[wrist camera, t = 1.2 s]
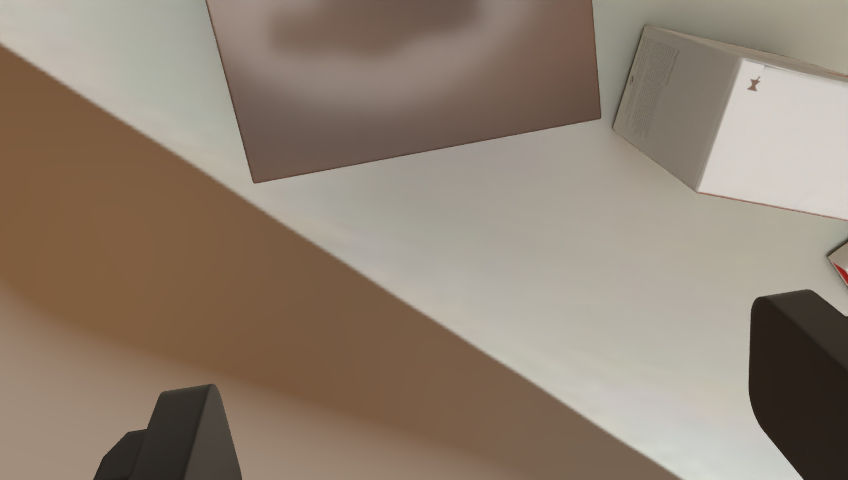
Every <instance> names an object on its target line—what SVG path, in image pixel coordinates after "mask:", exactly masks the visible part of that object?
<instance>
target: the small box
mask: <svg viewBox="0 0 848 480" xmlns="http://www.w3.org/2000/svg"><path fill="white" fill-rule="evenodd" d="M613 130H614V131H615V132H616V133H617V134H619V135H620V136H621V137H623V138H624V139H625V140H627V141H628V142H629V143H631V144H632V145H633V146H635V147H636V148H637V149H639V150H640V151H642V152H643V153H644V154H645V155H647V156H648V157H649V158H651V159H652V160H653V161H655V162H656V163H658V164H659V165H660V166H662V167H663V168H664V169H666V170H667V171H668V172H670V173H671V174H672V175H674V176H675V177H676V178H678V179H679V180H681V181H682V182H683V183H684V184H686V185H687V186H688V187H690V188H691V189H692V190H694V191H695V192H696V193H701V194H706V195H712V196H717V197H722V198H728V199H733V200H739V201H744V202H749V203H755V204H760V205H765V206H771V207H776V208H781V209H787V210H792V211H797V212H803V213H808V214H813V215H818V216H824V217H829V218H834V219H840V220H845V221H848V75H845V74H842V73H839V72H835V71H832V70H829V69H825V68H822V67H819V66H816V65H813V64H809V63H806V62H803V61H800V60H796V59H793V58H790V57H786V56H782V55H777V54H772V53H768V52H763V51H759V50H755V49H750V48H746V47H741V46H737V45H732V44H728V43H723V42H719V41H714V40H710V39H706V38H702V37H697V36H693V35H689V34H684V33H680V32H675V31H671V30H666V29H662V28H658V27H653V26H649V25H646V26H645V27H644V30H643V34H642V37H641V40H640V43H639V46H638V50H637V53H636V56H635V59H634V62H633V65H632V69H631V72H630V75H629V78H628V81H627V85H626V88H625V91H624V94H623V97H622V101H621V104H620V107H619V110H618V113H617V117H616V120H615V123H614V126H613Z"/></svg>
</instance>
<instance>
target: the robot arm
mask: <svg viewBox="0 0 848 480" xmlns="http://www.w3.org/2000/svg"><path fill="white" fill-rule="evenodd" d="M749 396H750V402H751V406H752V409H753V412H754V415H755V417H756V419H757V421H758V423H759V425H760V427H761V428H762V429H763V431H764V432H765V433H766V434H767V435H768V437H769V438H770V439H771V440H772V442H773V443H774V444H775V445H776V446H777V448H778V449H779V450H780V451H781V453H782V454H783V455H784V456H785V457H786V459H787V460H788V461H789V462H790V464H791V465H792V466H793V467H794V468H795V470H796V471H797V472H798V473H799V475H800V476H801V477H802V478H803V479H804V480H848V316H847V317H845V316H844V315H843V314H842V313H840V312H839V311H838V310H837V309H835V308H834V307H833V306H832V305H830V304H829V303H828V302H827V301H825V300H824V299H823V298H822V297H820V296H819V295H818V294H817V293H815V292H814V291H812V290H808V289H806V290H799V291H793V292H787V293H781V294H775V295H768V296H762V297H758V298H757V299H755V301H754V302H753V305H752V309H751V325H750V356H749ZM93 480H242V476H241V471H240V467H239V463H238V459H237V455H236V452H235V448H234V444H233V441H232V437H231V433H230V429H229V425H228V421H227V418H226V414H225V410H224V406H223V403H222V399H221V396H220V393H219V390H218V388H217V387H216V385H214V384H208V385H202V386H195V387H190V388H183V389H177V390H170V391H164V392H162V393H161V394H160V396H159V398H158V400H157V403H156V406H155V408H154V411H153V414H152V417H151V419H150V422H149V424H148V427H147V429H144V430H138V431H132V432H128V433H126V434H125V436H124V437H123V438H122V439H121V440H120V441H119V442H118V443H117V444H116V445H115V446H114V447H113V448H112V449H111V450H110V451H109V452H108V453H107V454H106V455H105V456H104V457H103V459H102V461H101V463H100V466H99V468H98V470H97V472H96V475H95V477H94V479H93Z"/></svg>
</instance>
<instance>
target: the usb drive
mask: <svg viewBox="0 0 848 480" xmlns="http://www.w3.org/2000/svg"><path fill="white" fill-rule="evenodd" d="M828 259H829V260H830V261H831V263H832V264H833V266H834V267H835V269H836V270H837V272H838V273H839V275H840V276H841V278H842V279H843V281H844V282H845V283H846V285H847V286H848V242H847V243H846V244H845V245H843V246H842V247H841V248H839V249H838V250H836V251H835V252H834V253H832V254H831V255H830V256H828Z"/></svg>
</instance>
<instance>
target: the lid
mask: <svg viewBox="0 0 848 480" xmlns="http://www.w3.org/2000/svg"><path fill="white" fill-rule="evenodd" d="M205 1H206V4H207V8H208V12H209V16H210V20H211V24H212V27H213V31H214V35H215V39H216V43H217V47H218V50H219V54H220V58H221V62H222V66H223V70H224V73H225V77H226V81H227V85H228V89H229V93H230V96H231V100H232V104H233V108H234V112H235V115H236V119H237V123H238V127H239V131H240V135H241V138H242V142H243V146H244V150H245V154H246V158H247V161H248V165H249V169H250V173H251V177H252V181H253V183H261V182H266V181H271V180H277V179H282V178H287V177H293V176H298V175H303V174H309V173H314V172H319V171H325V170H330V169H335V168H341V167H346V166H351V165H357V164H362V163H367V162H373V161H378V160H383V159H389V158H394V157H399V156H405V155H410V154H415V153H421V152H426V151H431V150H437V149H442V148H448V147H453V146H458V145H464V144H469V143H474V142H480V141H485V140H490V139H496V138H501V137H506V136H512V135H517V134H522V133H528V132H533V131H538V130H544V129H549V128H554V127H560V126H565V125H570V124H576V123H581V122H586V121H592V120H597V119H601V107H600V95H599V83H598V70H597V58H596V45H595V33H594V21H593V8H592V0H205Z"/></svg>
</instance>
